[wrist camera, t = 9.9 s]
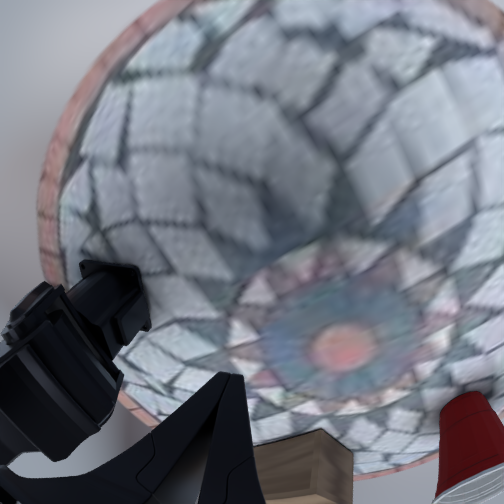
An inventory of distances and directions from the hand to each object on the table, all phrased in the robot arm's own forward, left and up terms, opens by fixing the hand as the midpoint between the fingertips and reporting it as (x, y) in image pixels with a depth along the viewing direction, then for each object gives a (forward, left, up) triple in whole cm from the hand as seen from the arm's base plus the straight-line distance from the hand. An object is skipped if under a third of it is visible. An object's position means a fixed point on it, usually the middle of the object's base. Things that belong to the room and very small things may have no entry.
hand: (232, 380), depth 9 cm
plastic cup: (+22, -18, -12) cm, 31 cm away
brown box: (+4, -28, -12) cm, 31 cm away
